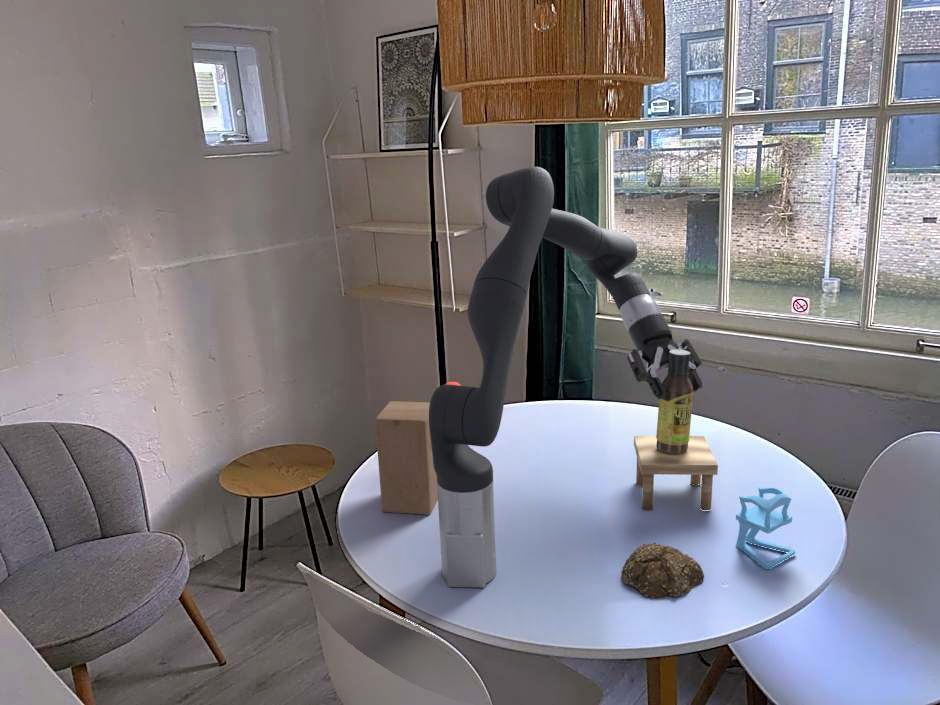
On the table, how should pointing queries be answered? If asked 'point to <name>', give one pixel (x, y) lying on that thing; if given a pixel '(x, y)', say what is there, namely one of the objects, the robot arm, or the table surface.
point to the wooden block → (406, 458)
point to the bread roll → (661, 571)
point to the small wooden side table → (675, 466)
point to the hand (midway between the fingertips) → (680, 393)
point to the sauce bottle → (675, 405)
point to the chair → (763, 523)
